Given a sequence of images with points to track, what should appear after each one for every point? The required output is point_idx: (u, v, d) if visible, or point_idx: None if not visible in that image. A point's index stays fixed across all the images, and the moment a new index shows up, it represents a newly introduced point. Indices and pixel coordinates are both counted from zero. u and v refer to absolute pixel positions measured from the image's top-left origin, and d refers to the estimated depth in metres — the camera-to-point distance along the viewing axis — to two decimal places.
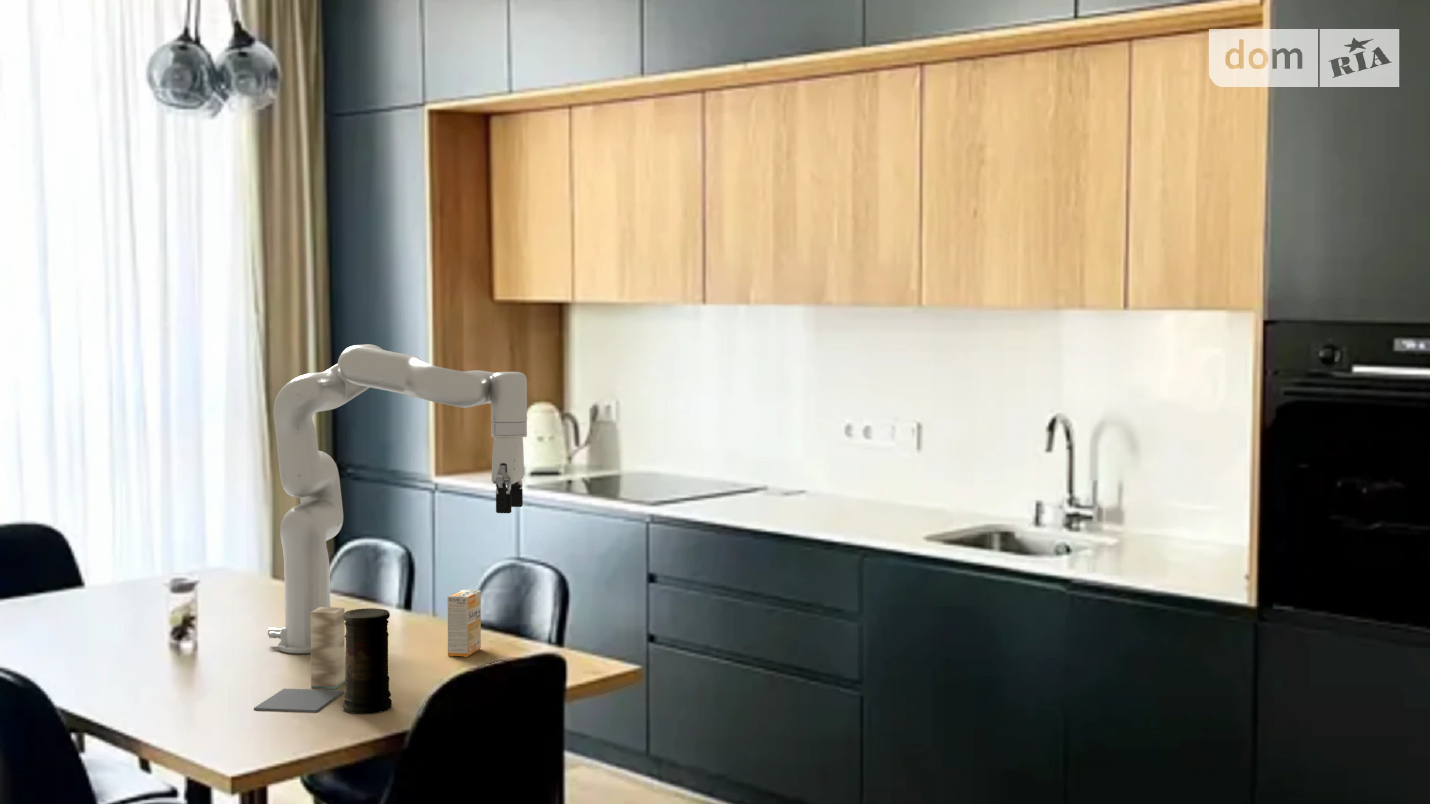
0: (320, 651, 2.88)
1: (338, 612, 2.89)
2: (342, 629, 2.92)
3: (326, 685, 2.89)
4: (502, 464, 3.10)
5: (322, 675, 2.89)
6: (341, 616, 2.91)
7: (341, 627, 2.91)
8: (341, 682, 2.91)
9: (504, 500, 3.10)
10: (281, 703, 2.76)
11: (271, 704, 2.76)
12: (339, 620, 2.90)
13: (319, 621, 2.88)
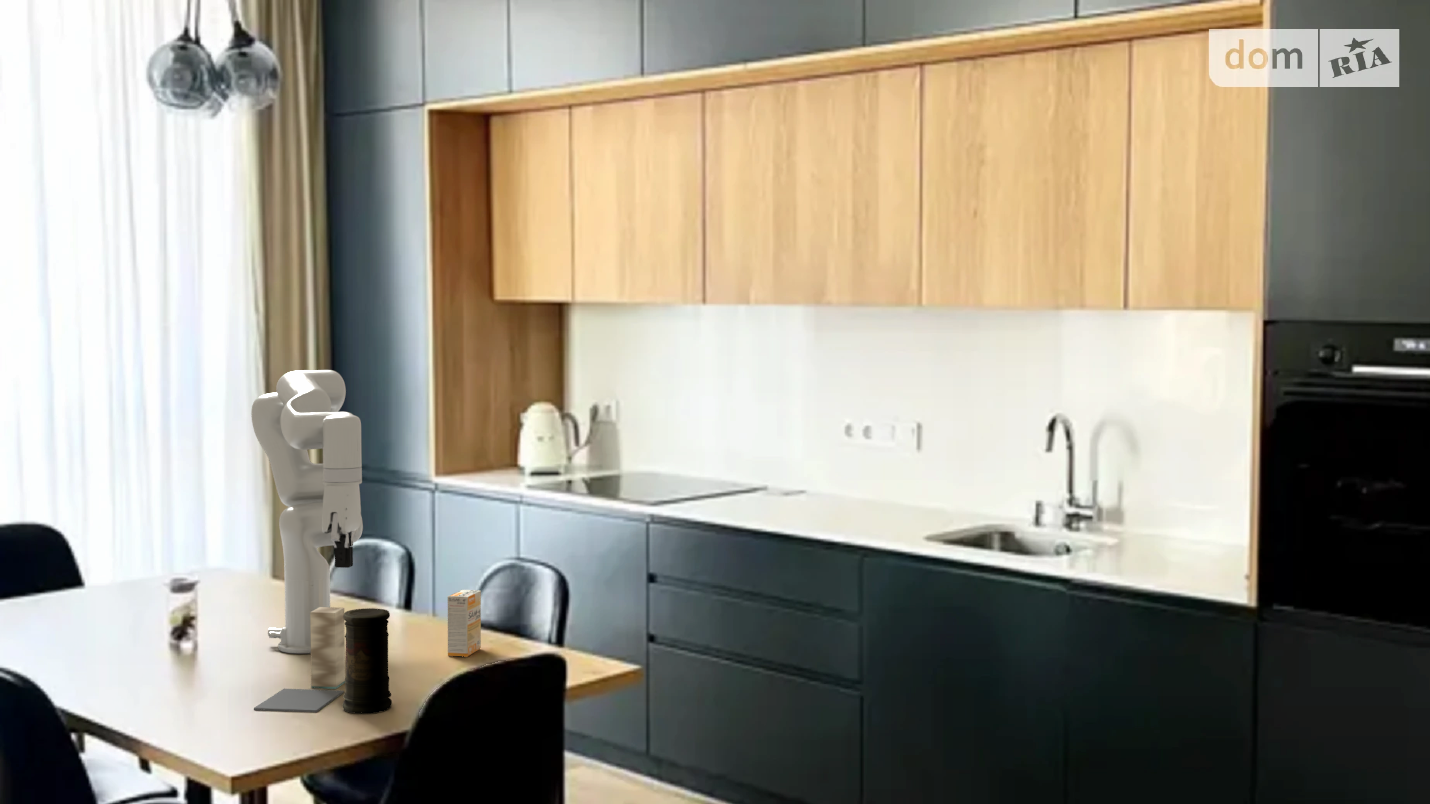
0: (320, 651, 2.88)
1: (338, 612, 2.89)
2: (342, 629, 2.92)
3: (326, 685, 2.89)
4: (334, 518, 2.94)
5: (322, 675, 2.89)
6: (341, 616, 2.91)
7: (341, 627, 2.91)
8: (341, 682, 2.91)
9: (343, 554, 2.97)
10: (281, 703, 2.76)
11: (271, 704, 2.76)
12: (339, 620, 2.90)
13: (319, 621, 2.88)
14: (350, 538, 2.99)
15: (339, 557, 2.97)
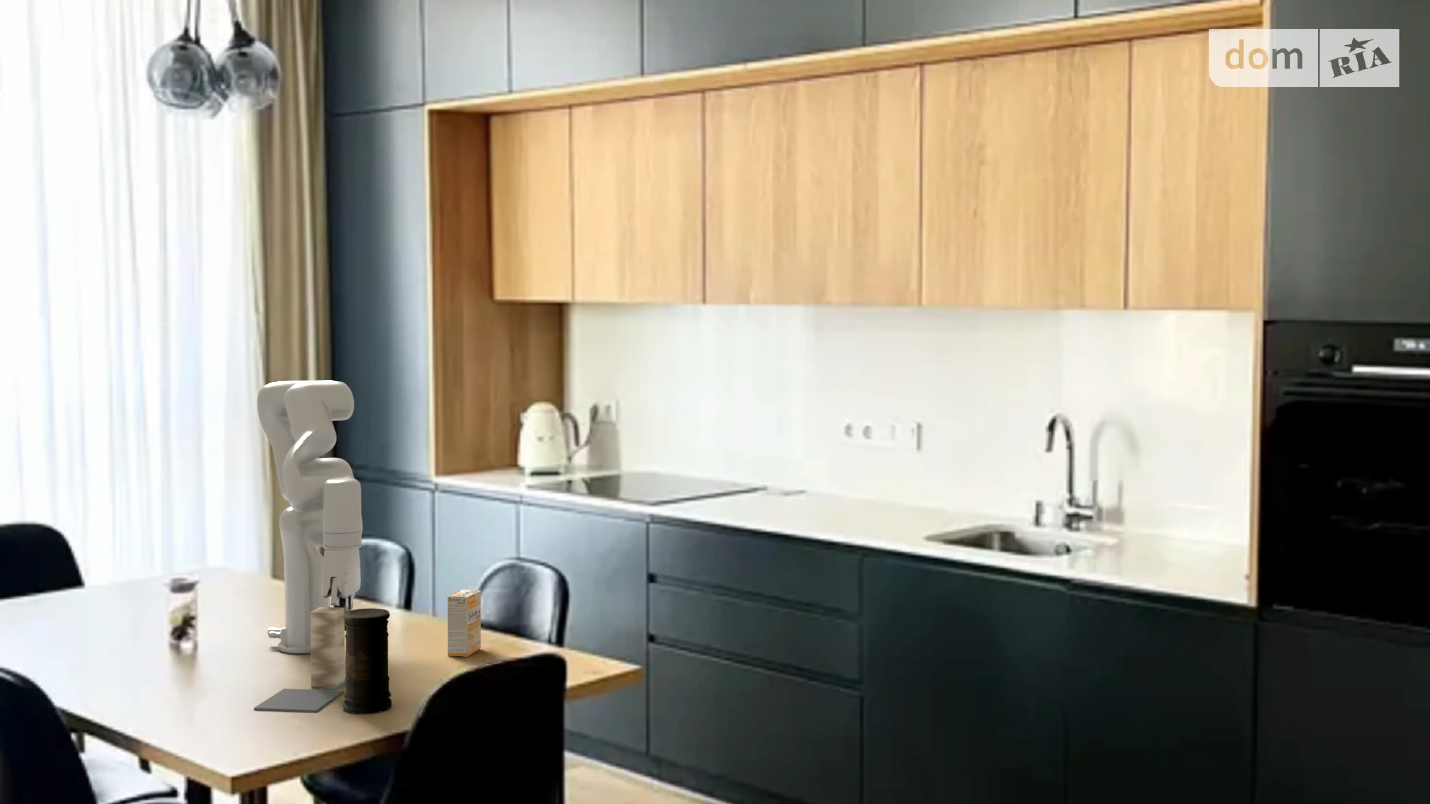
0: (320, 651, 2.88)
1: (338, 612, 2.89)
2: (342, 629, 2.92)
3: (326, 685, 2.89)
4: (333, 582, 2.94)
5: (322, 675, 2.89)
6: (341, 616, 2.91)
7: (341, 627, 2.91)
8: (341, 682, 2.91)
9: None
10: (281, 703, 2.76)
11: (271, 704, 2.76)
12: (339, 620, 2.90)
13: (319, 621, 2.88)
14: (350, 601, 2.99)
15: None
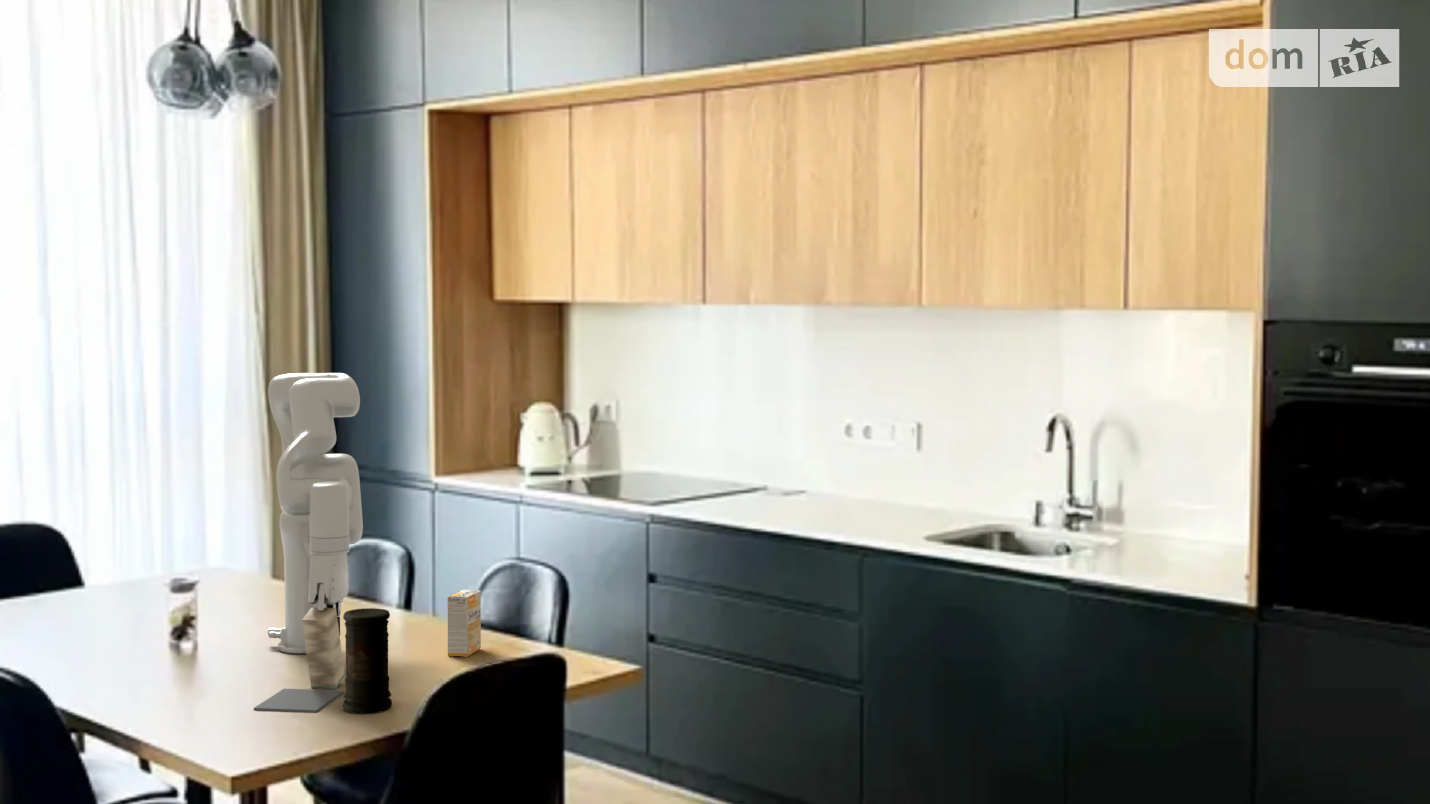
0: (316, 655, 2.86)
1: (330, 617, 2.85)
2: (336, 629, 2.88)
3: (326, 685, 2.88)
4: (321, 588, 2.87)
5: (320, 676, 2.88)
6: (334, 618, 2.87)
7: (335, 628, 2.88)
8: (340, 678, 2.91)
9: None
10: (281, 703, 2.76)
11: (271, 704, 2.76)
12: (332, 623, 2.86)
13: (312, 628, 2.84)
14: (337, 608, 2.92)
15: None
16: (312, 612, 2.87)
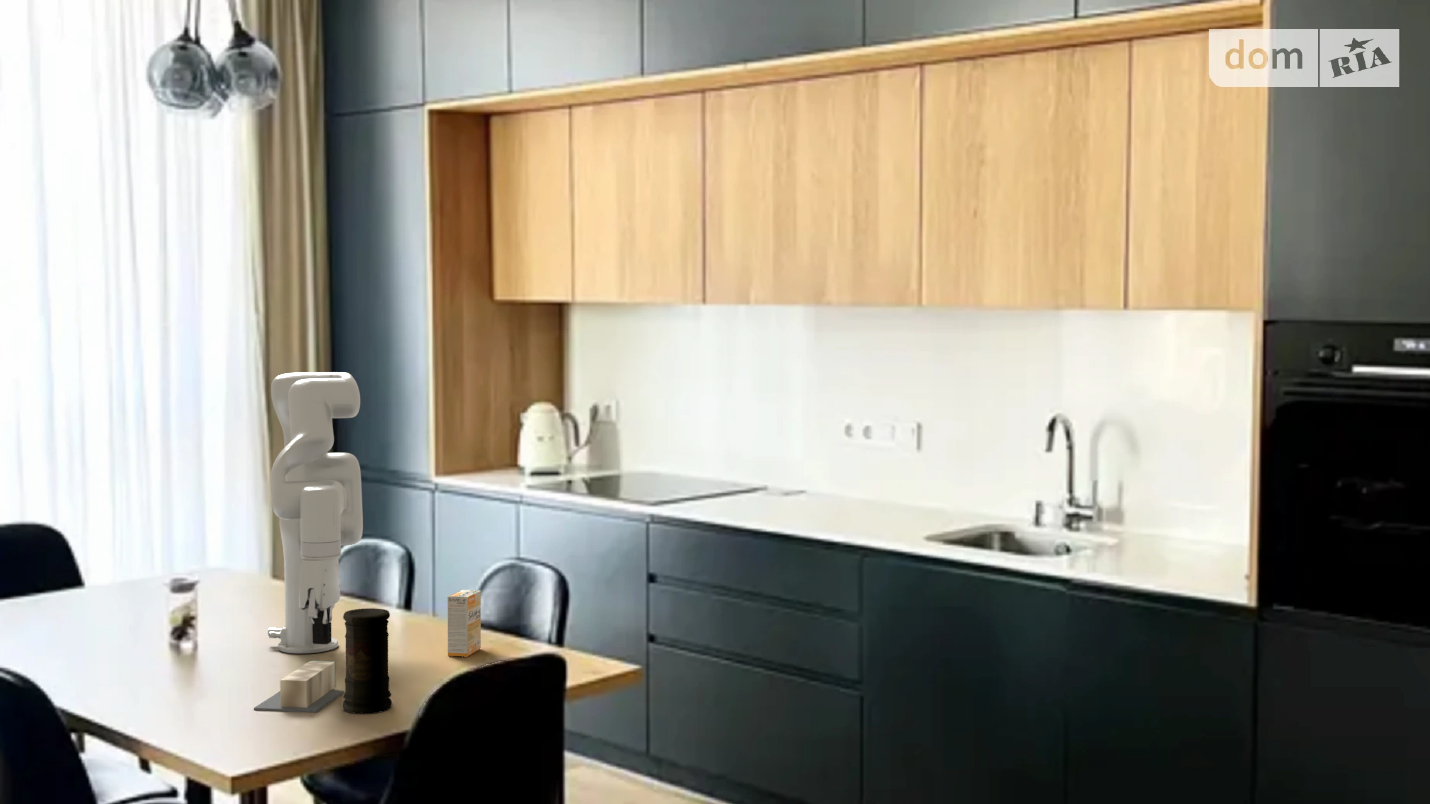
0: None
1: (307, 697, 2.74)
2: (314, 681, 2.77)
3: None
4: (311, 594, 2.83)
5: None
6: (309, 686, 2.75)
7: (313, 684, 2.77)
8: (334, 672, 2.88)
9: (321, 630, 2.86)
10: None
11: (271, 704, 2.76)
12: (310, 692, 2.75)
13: None
14: (328, 613, 2.88)
15: (317, 633, 2.86)
16: (285, 690, 2.74)
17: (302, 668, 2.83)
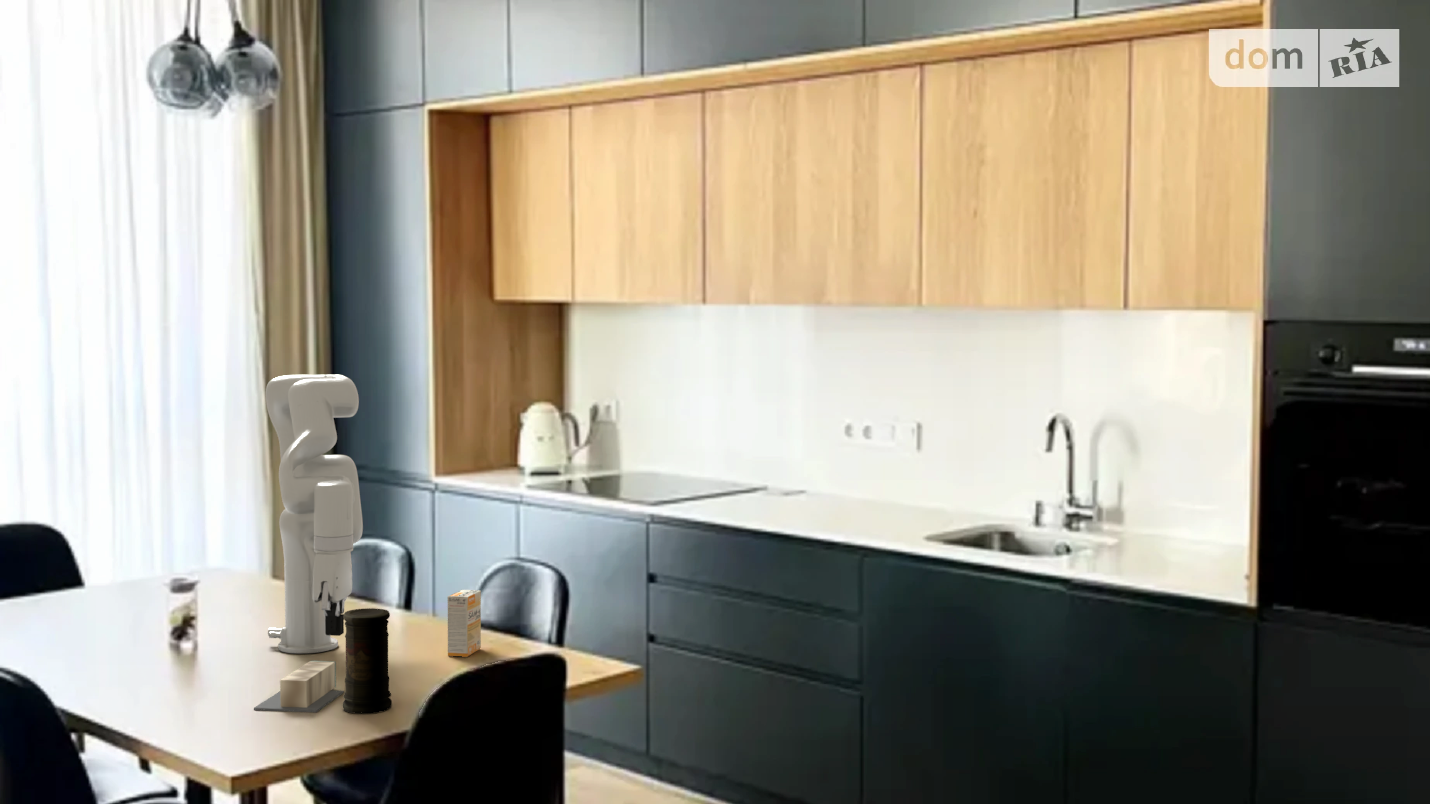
0: None
1: (307, 697, 2.74)
2: (314, 681, 2.77)
3: None
4: (324, 587, 2.90)
5: None
6: (309, 686, 2.75)
7: (313, 684, 2.77)
8: (334, 672, 2.88)
9: (333, 622, 2.93)
10: None
11: (271, 704, 2.76)
12: (310, 692, 2.75)
13: None
14: (341, 605, 2.95)
15: (330, 625, 2.93)
16: (285, 690, 2.74)
17: (302, 668, 2.83)
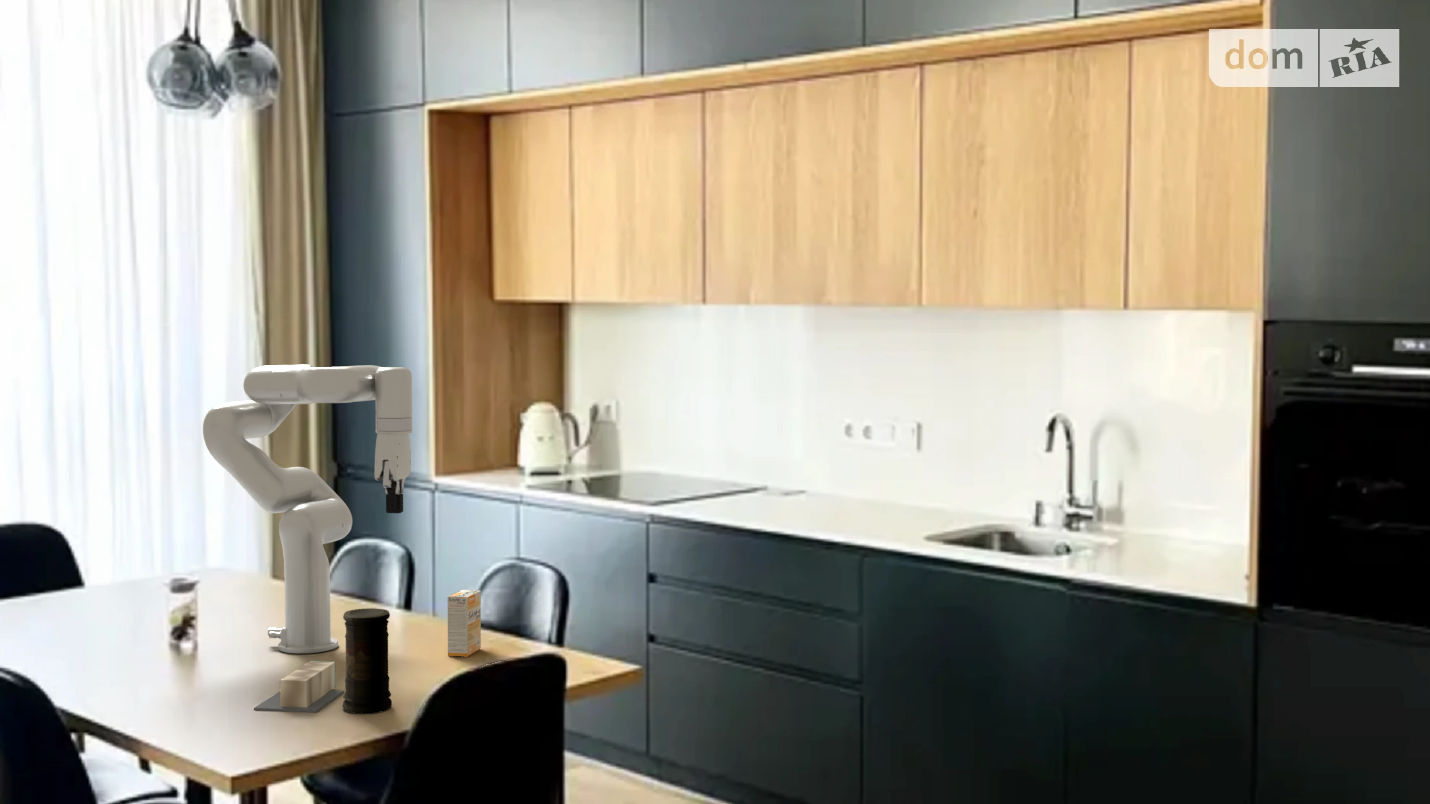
0: None
1: (307, 697, 2.74)
2: (314, 681, 2.77)
3: None
4: (386, 465, 3.07)
5: None
6: (309, 686, 2.75)
7: (313, 684, 2.77)
8: (334, 672, 2.88)
9: (394, 500, 3.10)
10: None
11: (271, 704, 2.76)
12: (310, 692, 2.75)
13: None
14: (400, 485, 3.12)
15: (390, 503, 3.10)
16: (285, 690, 2.74)
17: (302, 668, 2.83)
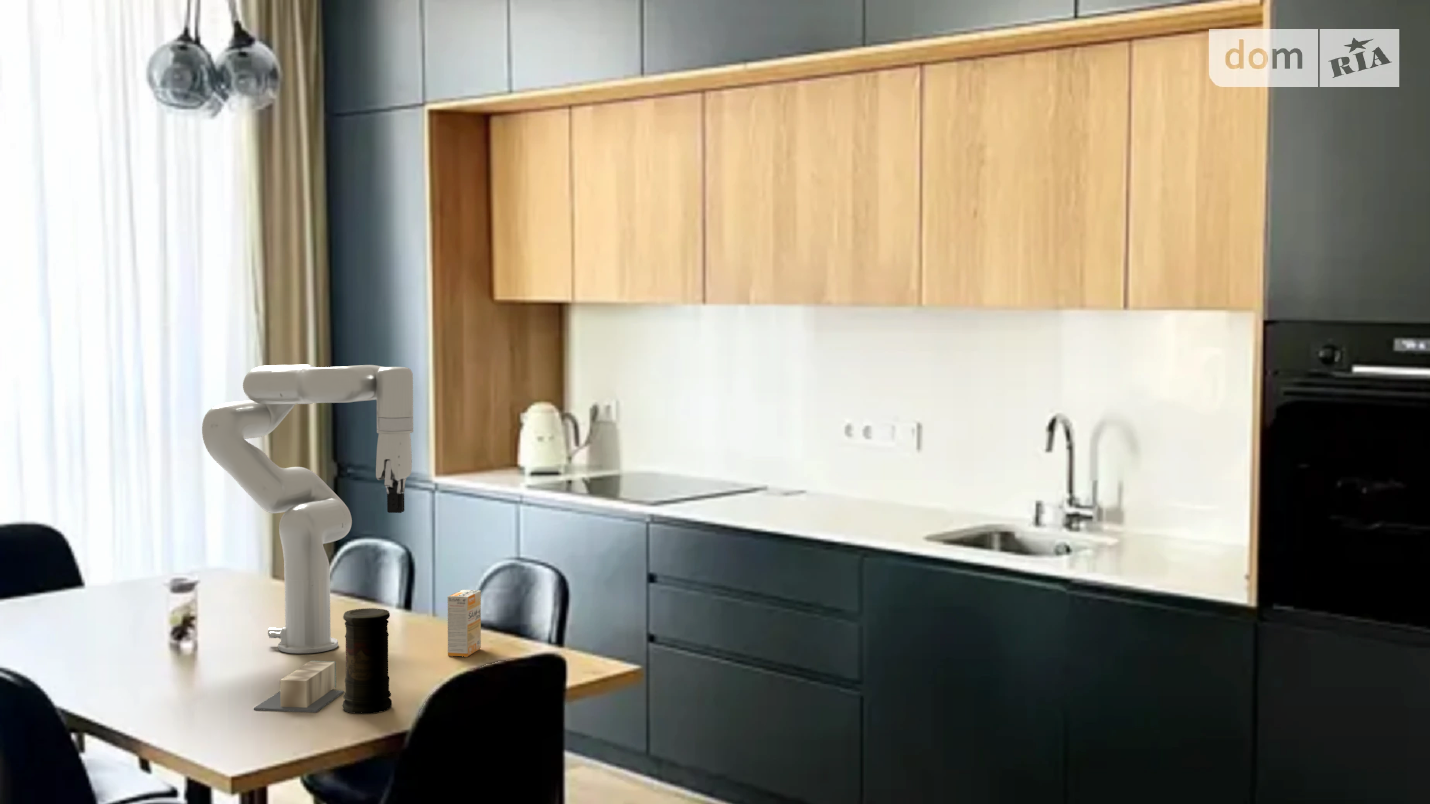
0: None
1: (307, 697, 2.74)
2: (314, 681, 2.77)
3: None
4: (387, 465, 3.07)
5: None
6: (309, 686, 2.75)
7: (313, 684, 2.77)
8: (334, 672, 2.88)
9: (395, 500, 3.11)
10: None
11: (271, 704, 2.76)
12: (310, 692, 2.75)
13: None
14: (402, 485, 3.13)
15: (391, 503, 3.11)
16: (285, 690, 2.74)
17: (302, 668, 2.83)
